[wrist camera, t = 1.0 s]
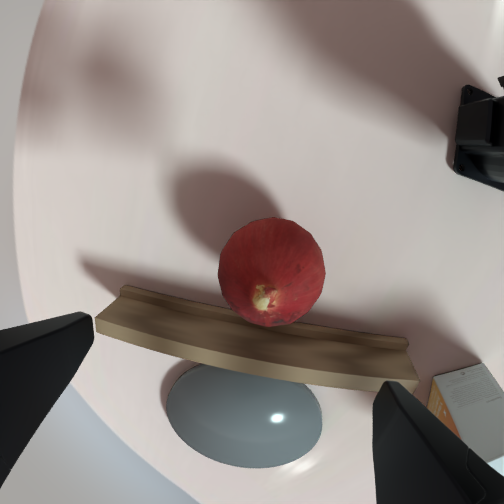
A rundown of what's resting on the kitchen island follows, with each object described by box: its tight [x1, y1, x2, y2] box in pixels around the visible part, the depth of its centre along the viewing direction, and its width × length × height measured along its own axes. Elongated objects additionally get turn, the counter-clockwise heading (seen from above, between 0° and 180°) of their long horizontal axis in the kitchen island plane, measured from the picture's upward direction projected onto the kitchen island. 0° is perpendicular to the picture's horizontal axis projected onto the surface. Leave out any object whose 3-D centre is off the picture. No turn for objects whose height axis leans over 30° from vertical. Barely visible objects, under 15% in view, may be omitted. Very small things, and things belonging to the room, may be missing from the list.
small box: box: [427, 363, 504, 476], centre depth 18 cm, size 8×6×10 cm
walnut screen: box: [95, 285, 420, 394], centre depth 20 cm, size 22×2×4 cm, turn 82°
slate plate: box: [166, 364, 322, 468], centre depth 25 cm, size 14×14×1 cm
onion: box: [218, 217, 326, 327], centre depth 17 cm, size 6×6×8 cm
